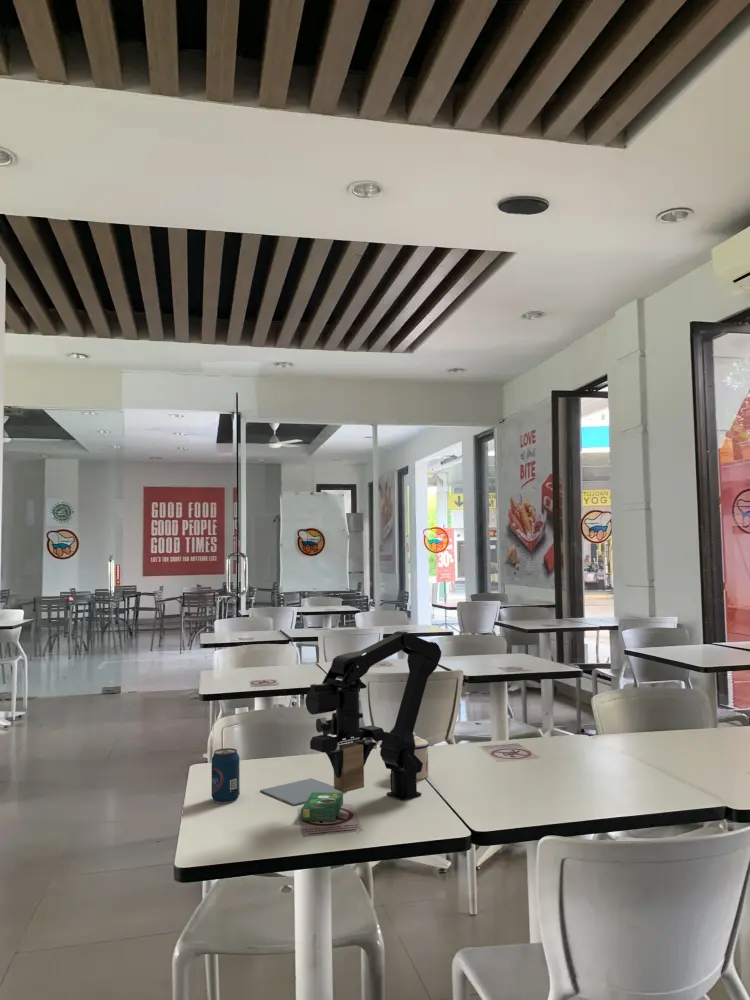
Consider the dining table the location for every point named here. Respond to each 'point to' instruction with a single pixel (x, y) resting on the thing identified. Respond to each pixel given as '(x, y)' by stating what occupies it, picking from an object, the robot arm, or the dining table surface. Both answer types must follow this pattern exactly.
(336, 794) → the coffee box
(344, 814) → the dining table surface
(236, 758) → the soda can
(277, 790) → the slate mat
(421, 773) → the teacup with lid
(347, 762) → the brown wooden block
